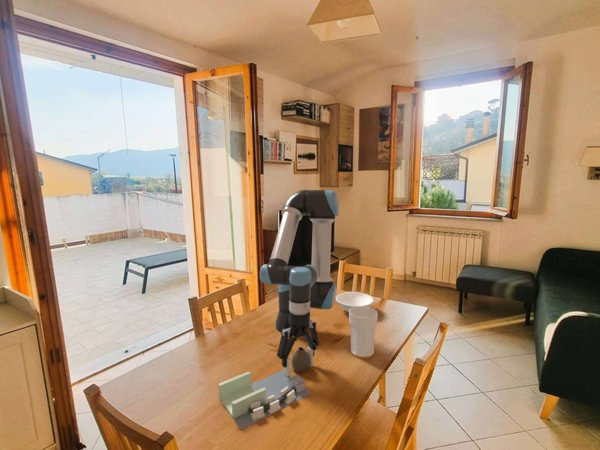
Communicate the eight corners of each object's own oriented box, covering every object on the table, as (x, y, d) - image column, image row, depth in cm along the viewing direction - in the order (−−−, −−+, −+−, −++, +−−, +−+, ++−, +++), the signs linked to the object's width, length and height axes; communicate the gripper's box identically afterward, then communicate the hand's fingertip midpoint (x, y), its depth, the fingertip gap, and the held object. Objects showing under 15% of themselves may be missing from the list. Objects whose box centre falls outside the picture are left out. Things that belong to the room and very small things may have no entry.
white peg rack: (244, 408, 98) (243, 399, 97) (297, 382, 109) (297, 374, 109) (254, 422, 92) (254, 412, 92) (309, 393, 104) (309, 384, 103)
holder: (219, 397, 102) (218, 383, 102) (249, 384, 109) (248, 371, 108) (234, 419, 93) (233, 404, 92) (266, 403, 99) (266, 389, 99)
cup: (342, 348, 132) (343, 308, 130) (365, 342, 137) (366, 304, 134) (358, 363, 122) (359, 320, 119) (382, 356, 126) (383, 314, 124)
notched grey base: (246, 409, 96) (246, 406, 96) (296, 385, 107) (296, 382, 107) (252, 418, 93) (252, 414, 93) (304, 392, 104) (304, 388, 104)
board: (218, 400, 102) (218, 398, 102) (284, 372, 117) (284, 369, 117) (241, 433, 90) (240, 429, 89) (311, 396, 104) (311, 393, 104)
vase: (297, 378, 113) (296, 355, 112) (288, 368, 119) (288, 346, 118) (314, 373, 116) (313, 350, 115) (305, 363, 122) (304, 342, 121)
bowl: (376, 319, 159) (377, 306, 158) (337, 319, 159) (337, 306, 158) (369, 303, 178) (369, 291, 177) (333, 303, 178) (334, 291, 177)
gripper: (278, 322, 104) (277, 385, 107) (330, 308, 117) (328, 364, 120) (266, 314, 110) (266, 374, 113) (317, 301, 123) (315, 355, 126)
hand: (298, 369), depth 117 cm, fingers open, 10 cm apart
